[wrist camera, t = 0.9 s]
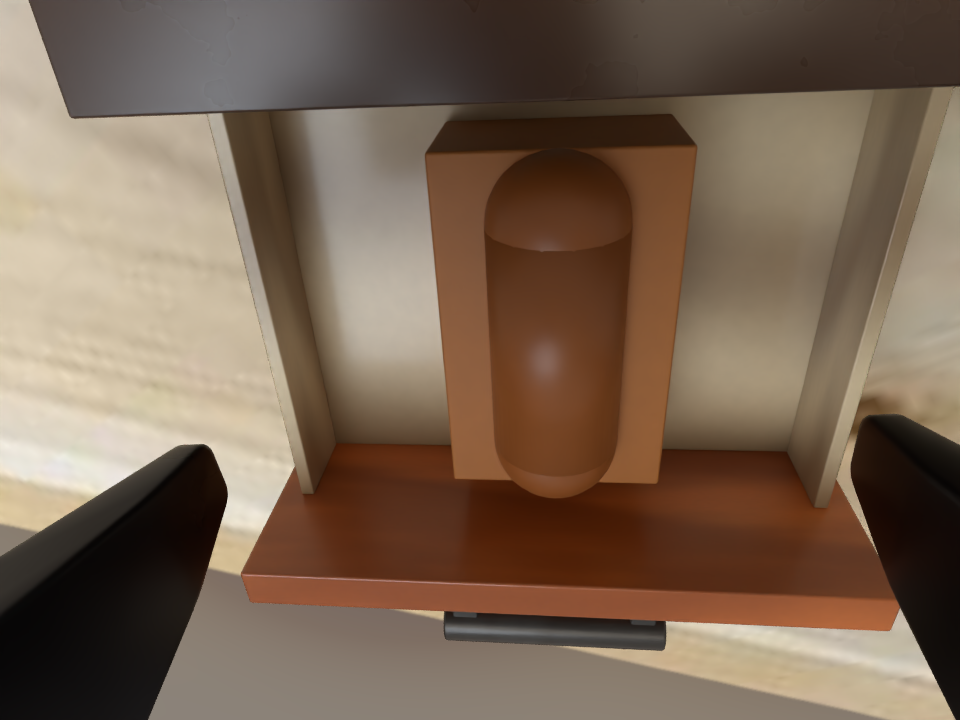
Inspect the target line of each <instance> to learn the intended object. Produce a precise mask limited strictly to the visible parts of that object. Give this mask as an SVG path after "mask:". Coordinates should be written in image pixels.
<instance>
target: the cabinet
mask: <svg viewBox="0 0 960 720" xmlns="http://www.w3.org/2000/svg"><path fill="white" fill-rule="evenodd" d="M29 3H30V6H31V8H32V11H33V14H34V17H35V20H36V23H37V25H38V28H39V31H40V34H41V37H42V40H43V42H44V45H45V48H46V51H47V54H48V57H49V59H50V62H51V65H52V68H53V71H54V73H55V76H56V79H57V82H58V85H59V88H60V90H61V93H62V96H63V99H64V102H65V105H66V107H67V110H68V113H69V116H70V117H71V118H74V119H79V118H107V117H135V116H162V115H190V114H218V113H245V112H273V111H301V110H328V109H356V108H384V107H411V106H439V105H467V104H494V103H522V102H550V101H577V100H605V99H633V98H660V97H688V96H716V95H743V94H771V93H799V92H826V91H854V90H882V89H909V88H937V87H960V0H29Z"/></svg>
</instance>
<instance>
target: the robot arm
mask: <svg viewBox="0 0 960 720" xmlns="http://www.w3.org/2000/svg"><path fill="white" fill-rule="evenodd" d="M851 478H852V482H853V485H854V488H855V491H856V494H857V496H858V499H859V502H860V505H861V508H862V510H863V513H864V516H865V519H866V522H867V524H868V527H869V530H870V533H871V536H872V538H873V541H874V544H875V547H876V550H877V552H878V555H879V558H880V561H881V564H882V566H883V569H884V572H885V574H886V577H887V579H888V582H889V585H890V587H891V589H892V591H893V593H894V596H895V598H896V600H897V602H898V604H899V606H900V608H901V610H902V612H903V614H904V616H905V618H906V620H907V622H908V624H909V626H910V628H911V630H912V632H913V634H914V636H915V639H916V641H917V643H918V645H919V647H920V649H921V651H922V653H923V655H924V657H925V659H926V661H927V663H928V665H929V667H930V669H931V671H932V673H933V675H934V677H935V679H936V681H937V683H938V685H939V687H940V689H941V691H942V693H943V695H944V697H945V699H946V701H947V703H948V705H949V707H950V709H951V711H952V713H953V715H954V717H955V719H956V720H960V445H959V444H957V443H955V442H953V441H951V440H949V439H947V438H945V437H943V436H941V435H939V434H937V433H936V432H934V431H932V430H930V429H928V428H926V427H924V426H922V425H920V424H918V423H916V422H914V421H913V420H911V419H909V418H907V417H905V416H903V415H899V414H881V415H868V416H866V417H865V418H863V420H862V422H861V424H860V427H859V431H858V435H857V440H856V444H855V448H854V452H853V457H852V461H851ZM227 498H228V491H227V486H226V483H225V481H224V478H223V476H222V473H221V471H220V469H219V466H218V464H217V461H216V459H215V456H214V454H213V452H212V450H211V449H210V448H209V447H208V446H207V445H204V444H194V445H180V446H177V447H175V448H173V449H172V450H170V451H169V452H167V453H165V454H164V455H162V456H161V457H159V458H157V459H156V460H154V461H153V462H151V463H149V464H148V465H146V466H145V467H143V468H141V469H140V470H138V471H137V472H135V473H133V474H132V475H130V476H129V477H127V478H125V479H124V480H122V481H121V482H119V483H117V484H116V485H114V486H112V487H111V488H109V489H108V490H106V491H104V492H103V493H101V494H100V495H98V496H96V497H95V498H93V499H92V500H90V501H88V502H87V503H85V504H84V505H82V506H80V507H79V508H77V509H76V510H74V511H72V512H71V513H69V514H68V515H66V516H64V517H63V518H61V519H60V520H58V521H56V522H55V523H53V524H52V525H50V526H48V527H47V528H45V529H44V530H42V531H40V532H39V533H37V534H36V535H34V536H32V537H31V538H29V539H28V540H26V541H25V542H23V543H21V544H20V545H18V546H16V547H15V548H13V549H12V550H10V551H8V552H7V553H5V554H4V555H2V556H0V720H148V718H149V716H150V714H151V711H152V709H153V706H154V704H155V701H156V699H157V696H158V694H159V692H160V689H161V687H162V685H163V682H164V680H165V677H166V675H167V673H168V670H169V667H170V665H171V663H172V660H173V658H174V656H175V653H176V651H177V648H178V646H179V644H180V641H181V639H182V636H183V634H184V632H185V629H186V627H187V624H188V622H189V619H190V617H191V615H192V612H193V610H194V607H195V604H196V602H197V599H198V597H199V594H200V591H201V587H202V585H203V582H204V579H205V575H206V571H207V568H208V565H209V562H210V558H211V555H212V551H213V548H214V545H215V541H216V538H217V534H218V531H219V528H220V524H221V521H222V517H223V514H224V511H225V507H226V504H227Z"/></svg>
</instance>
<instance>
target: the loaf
mask: <svg viewBox="0 0 960 720" xmlns="http://www.w3.org/2000/svg"><path fill="white" fill-rule="evenodd" d="M697 149H698V147H697V144H696V143H695V142H694V141H693V139H692V138H691V137H690V136H689V134H688V133H687V132H686V131H685V129H684V128H683V127H682V126H681V124H680V123H679V122H678V121H677V119H676V118H675V117H674V116H673V115H672V114H652V115H622V116H593V117H563V118H533V119H503V120H473V121H447V122H445V123H444V125H443V126H442V128H441V129H440V131H439V133H438V134H437V136H436V137H435V139H434V140H433V142H432V143H431V145H430V146H429V148H428V149H427V151H426V152H425V166H426V177H427V188H428V198H429V209H430V220H431V231H432V242H433V253H434V264H435V275H436V286H437V297H438V308H439V318H440V329H441V340H442V351H443V362H444V373H445V384H446V395H447V406H448V417H449V428H450V438H451V449H452V460H453V471H454V477H455V479H476V480H513V481H514V482H515V483H516V484H517V485H519V486H520V487H522V488H524V489H525V490H527V491H529V492H530V493H533V494H535V495H538V496H542V497H546V498H567V497H572V496H575V495H578V494H580V493H582V492H584V491H586V490H588V489H589V488H591V487H593V486H594V485H595V484H596V483H597V482H603V483H645V484H656V483H658V480H659V472H660V463H661V455H662V446H663V438H664V429H665V421H666V412H667V404H668V395H669V387H670V378H671V370H672V361H673V353H674V344H675V336H676V327H677V319H678V310H679V302H680V293H681V285H682V276H683V268H684V259H685V251H686V242H687V234H688V225H689V217H690V208H691V200H692V191H693V183H694V174H695V166H696V157H697Z"/></svg>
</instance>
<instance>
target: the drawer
mask: <svg viewBox="0 0 960 720" xmlns="http://www.w3.org/2000/svg"><path fill="white" fill-rule="evenodd" d="M952 91H953V87H937V88H909V89H882V90H854V91H826V92H799V93H771V94H743V95H716V96H688V97H660V98H633V99H605V100H577V101H550V102H522V103H494V104H467V105H439V106H411V107H384V108H356V109H328V110H301V111H273V112H245V113H218V114H207V117H208V121H209V125H210V129H211V133H212V137H213V141H214V145H215V148H216V152H217V156H218V160H219V164H220V168H221V172H222V176H223V180H224V184H225V188H226V192H227V196H228V200H229V204H230V208H231V212H232V216H233V220H234V224H235V228H236V232H237V236H238V240H239V244H240V248H241V252H242V256H243V260H244V264H245V268H246V272H247V276H248V280H249V284H250V288H251V292H252V296H253V300H254V304H255V308H256V312H257V316H258V320H259V324H260V328H261V332H262V336H263V340H264V344H265V348H266V352H267V356H268V360H269V364H270V368H271V372H272V375H273V379H274V383H275V387H276V391H277V395H278V399H279V403H280V407H281V411H282V415H283V419H284V423H285V427H286V431H287V435H288V439H289V443H290V447H291V451H292V455H293V459H294V463H295V467H294V469H293V471H292V473H291V475H290V477H289V479H288V481H287V483H286V485H285V487H284V489H283V491H282V493H281V495H280V497H279V499H278V501H277V503H276V505H275V507H274V509H273V511H272V513H271V515H270V517H269V519H268V520H267V522H266V524H265V526H264V528H263V530H262V532H261V534H260V536H259V538H258V540H257V542H256V544H255V546H254V548H253V550H252V552H251V554H250V556H249V558H248V560H247V562H246V564H245V566H244V568H243V570H242V572H241V577H242V579H243V582H244V585H245V588H246V591H247V594H248V597H249V600H250V602H252V603H254V602H255V603H275V604H298V605H319V606H342V607H364V608H365V607H366V608H386V609H408V610H430V611H444V635H445V639H446V640H456V641H475V642H495V643H515V644H535V645H537V644H538V645H556V646H576V647H596V648H616V649H636V650H656V651H662V650H664V649H665V645H666V621H675V622H697V623H719V624H741V625H764V626H786V627H808V628H830V629H853V630H875V631H890V630H891V628H892V626H893V623H894V621H895V618H896V616H897V614H898V611H899V609H900V606H899V604H898V602H897V600H896V598H895V596H894V593H893V591H892V589H891V587H890V585H889V582H888V579H887V577H886V574H885V572H884V569H883V566H882V564H881V561H880V558H879V556H878V554H877V552H876V550H875V549H874V547H873V545H872V543H871V541H870V540H869V538H868V536H867V534H866V532H865V531H864V529H863V527H862V525H861V523H860V521H859V520H858V518H857V516H856V514H855V512H854V511H853V509H852V507H851V505H850V503H849V502H848V500H847V498H846V496H845V494H844V492H843V491H842V489H841V487H840V485H839V483H838V482H837V480H836V478H837V475H838V471H839V468H840V465H841V461H842V458H843V455H844V451H845V448H846V445H847V441H848V438H849V435H850V431H851V428H852V425H853V421H854V418H855V415H856V411H857V408H858V405H859V401H860V398H861V395H862V391H863V388H864V385H865V381H866V378H867V375H868V371H869V368H870V365H871V361H872V358H873V355H874V351H875V348H876V344H877V341H878V338H879V334H880V331H881V328H882V324H883V321H884V318H885V314H886V311H887V308H888V304H889V301H890V298H891V294H892V291H893V288H894V284H895V281H896V278H897V274H898V271H899V268H900V264H901V261H902V258H903V254H904V251H905V248H906V244H907V241H908V238H909V234H910V231H911V228H912V224H913V221H914V218H915V214H916V211H917V208H918V204H919V201H920V198H921V194H922V191H923V188H924V184H925V181H926V177H927V174H928V171H929V167H930V164H931V161H932V157H933V154H934V151H935V147H936V144H937V141H938V137H939V134H940V131H941V127H942V124H943V121H944V117H945V114H946V111H947V107H948V104H949V101H950V97H951V94H952ZM652 114H672V115H673V116H674V117H675V118H676V119H677V121H678V122H679V123H680V124H681V126H682V127H683V128H684V129H685V131H686V132H687V133H688V134H689V136H690V137H691V138H692V139H693V141H694V142H695V143H696V144H697V147H698V149H697V157H696V166H695V174H694V183H693V191H692V200H691V208H690V217H689V225H688V234H687V242H686V251H685V259H684V268H683V276H682V285H681V293H680V302H679V310H678V319H677V327H676V336H675V344H674V353H673V361H672V370H671V378H670V387H669V395H668V404H667V412H666V421H665V429H664V438H663V446H662V455H661V463H660V472H659V480H658V483H656V484H645V483H603V482H597V483H596V484H595V485H594V486H593V487H591V488H589V489H588V490H586V491H584V492H582V493H580V494H578V495H575V496H572V497H567V498H546V497H542V496H538V495H535V494H533V493H530V492H529V491H527V490H525V489H524V488H522V487H520V486H519V485H517V484H516V483H515V482H514V481H513V480H476V479H455V477H454V471H453V460H452V449H451V438H450V428H449V417H448V406H447V395H446V384H445V373H444V362H443V351H442V340H441V329H440V318H439V308H438V297H437V286H436V275H435V264H434V253H433V242H432V231H431V220H430V209H429V198H428V188H427V177H426V166H425V152H426V151H427V149H428V148H429V146H430V145H431V143H432V142H433V140H434V139H435V137H436V136H437V134H438V133H439V131H440V129H441V128H442V126H443V125H444V123H445V122H447V121H473V120H503V119H533V118H563V117H593V116H622V115H652Z"/></svg>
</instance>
